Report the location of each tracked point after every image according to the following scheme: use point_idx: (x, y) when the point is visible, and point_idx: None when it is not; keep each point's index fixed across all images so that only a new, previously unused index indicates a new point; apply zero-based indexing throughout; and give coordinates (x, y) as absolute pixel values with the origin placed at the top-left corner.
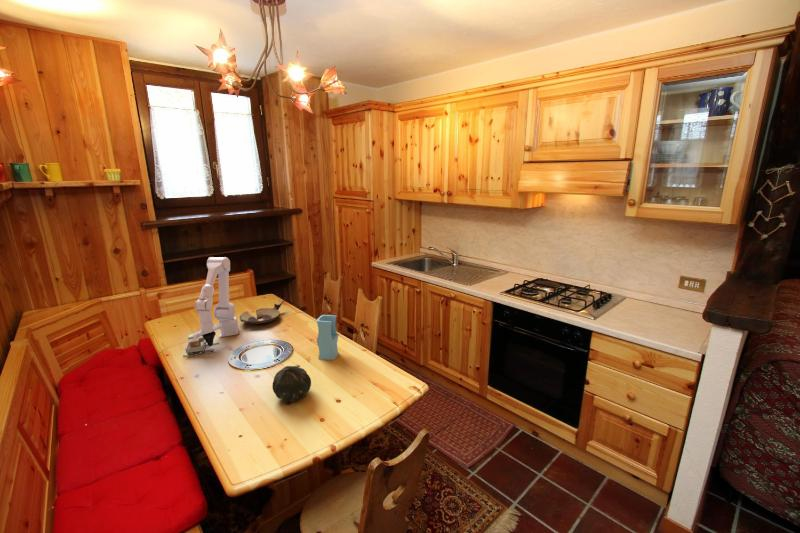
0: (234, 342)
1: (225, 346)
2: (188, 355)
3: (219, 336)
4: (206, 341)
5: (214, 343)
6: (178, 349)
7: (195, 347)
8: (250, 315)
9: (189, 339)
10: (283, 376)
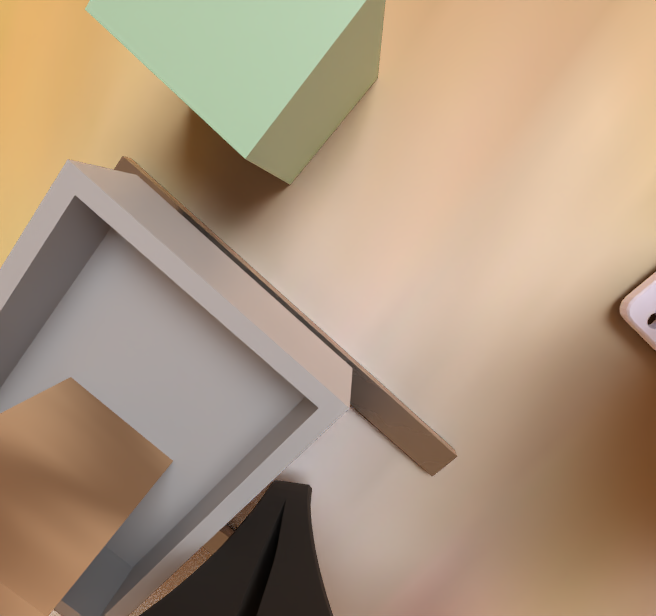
0: (546, 613)
1: (415, 593)
2: None
3: (626, 308)
4: (237, 536)
5: (399, 436)
6: (28, 81)
7: None
8: None
9: (61, 173)
10: None
